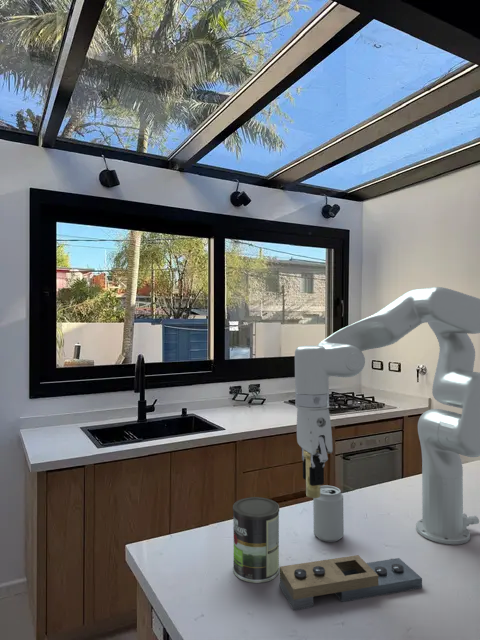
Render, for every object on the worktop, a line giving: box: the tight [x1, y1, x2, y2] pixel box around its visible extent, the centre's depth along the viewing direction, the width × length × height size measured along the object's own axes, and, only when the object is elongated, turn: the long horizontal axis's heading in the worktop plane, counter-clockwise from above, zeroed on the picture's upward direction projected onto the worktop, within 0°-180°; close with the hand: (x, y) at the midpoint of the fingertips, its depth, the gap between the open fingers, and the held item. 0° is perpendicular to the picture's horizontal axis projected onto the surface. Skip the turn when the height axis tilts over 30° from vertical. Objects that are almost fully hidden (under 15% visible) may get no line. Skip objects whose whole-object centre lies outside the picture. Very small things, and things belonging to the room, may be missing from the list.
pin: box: [303, 450, 321, 499], centre depth 100 cm, size 4×4×10 cm
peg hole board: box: [279, 554, 423, 611], centre depth 91 cm, size 28×8×5 cm, turn 104°
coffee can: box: [232, 496, 280, 584], centre depth 98 cm, size 10×10×14 cm
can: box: [312, 484, 345, 543], centre depth 113 cm, size 8×8×12 cm
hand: (313, 480), depth 100 cm, fingers closed on pin, 3 cm apart
